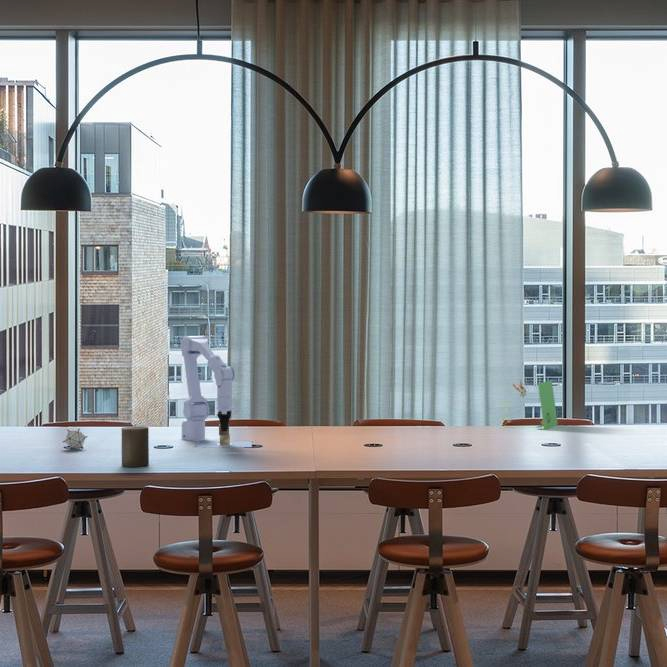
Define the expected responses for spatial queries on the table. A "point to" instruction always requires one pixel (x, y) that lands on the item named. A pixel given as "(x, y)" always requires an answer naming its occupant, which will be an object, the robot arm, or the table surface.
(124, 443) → the pillar candle
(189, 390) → the robot arm
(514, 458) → the table surface
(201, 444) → the board
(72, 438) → the beige spiky star ball
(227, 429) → the walnut cube
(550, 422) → the toy game set
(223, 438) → the maple cube
